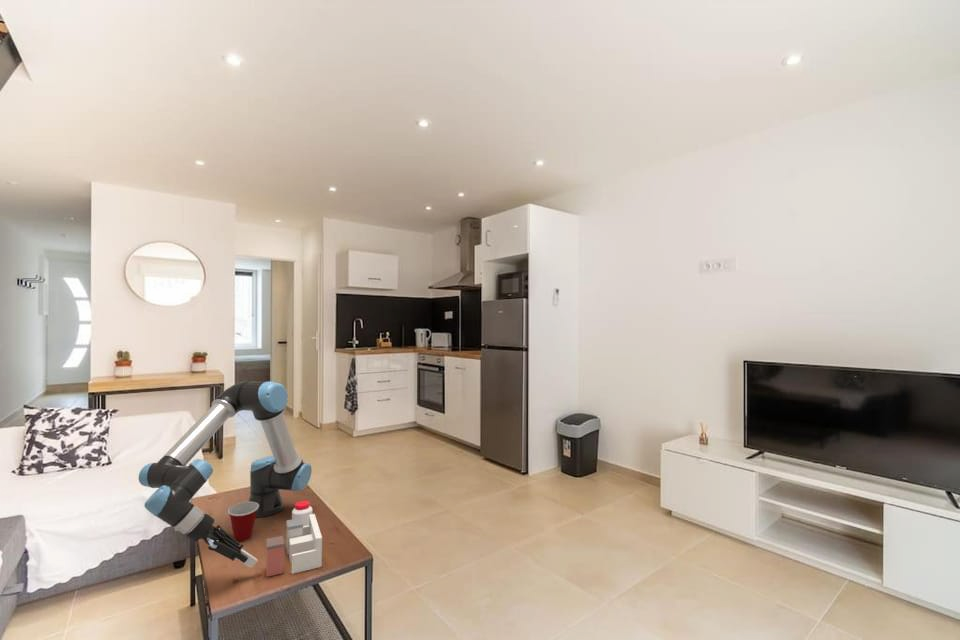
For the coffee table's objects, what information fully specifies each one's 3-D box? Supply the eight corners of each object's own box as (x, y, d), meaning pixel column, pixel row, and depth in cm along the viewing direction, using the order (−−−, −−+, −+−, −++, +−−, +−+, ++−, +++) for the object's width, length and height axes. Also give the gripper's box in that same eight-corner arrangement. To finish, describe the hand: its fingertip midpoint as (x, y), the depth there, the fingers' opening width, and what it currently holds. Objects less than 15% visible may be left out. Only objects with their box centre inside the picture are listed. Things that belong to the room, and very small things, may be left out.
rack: (287, 545, 162) (287, 518, 163) (314, 539, 167) (314, 513, 167) (291, 573, 144) (292, 543, 144) (321, 566, 148) (322, 537, 148)
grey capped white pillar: (286, 546, 161) (286, 520, 161) (301, 543, 163) (301, 517, 163) (287, 554, 155) (287, 527, 156) (302, 551, 158) (303, 524, 158)
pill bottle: (304, 536, 170) (305, 508, 170) (287, 534, 171) (287, 506, 171) (316, 527, 177) (316, 500, 177) (299, 525, 179) (299, 498, 179)
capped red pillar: (265, 567, 147) (266, 538, 147) (282, 563, 149) (282, 535, 150) (266, 577, 142) (266, 547, 142) (283, 573, 144) (284, 543, 144)
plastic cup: (226, 547, 161) (226, 515, 161) (227, 534, 170) (228, 504, 170) (258, 540, 166) (259, 509, 166) (258, 529, 175) (259, 499, 175)
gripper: (187, 525, 140) (245, 564, 147) (181, 543, 128) (244, 584, 136) (207, 505, 142) (262, 545, 150) (202, 522, 131) (263, 563, 138)
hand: (254, 563), depth 143 cm, fingers closed
